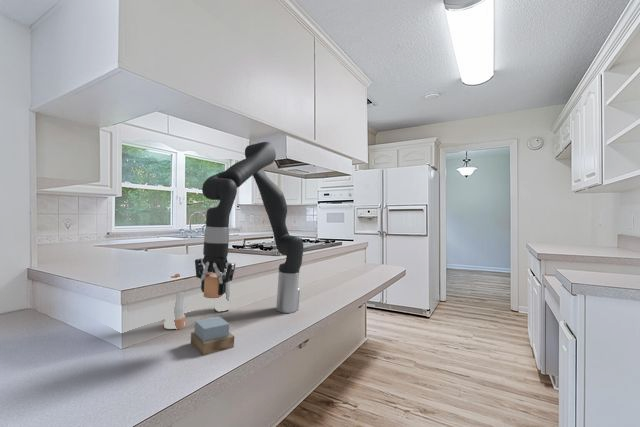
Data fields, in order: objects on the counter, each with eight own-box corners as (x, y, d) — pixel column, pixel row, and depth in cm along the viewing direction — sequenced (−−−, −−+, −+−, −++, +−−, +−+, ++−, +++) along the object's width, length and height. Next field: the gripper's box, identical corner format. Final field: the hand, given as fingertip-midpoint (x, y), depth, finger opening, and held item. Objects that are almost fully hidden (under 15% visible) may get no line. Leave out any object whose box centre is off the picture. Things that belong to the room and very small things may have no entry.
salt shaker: (174, 321, 120) (177, 270, 119) (189, 324, 117) (192, 273, 117) (158, 327, 113) (161, 274, 113) (174, 331, 111) (177, 277, 110)
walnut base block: (219, 337, 109) (220, 326, 109) (233, 348, 102) (234, 336, 102) (190, 344, 102) (191, 332, 102) (203, 356, 95) (203, 343, 95)
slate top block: (218, 328, 107) (219, 316, 107) (228, 336, 101) (229, 323, 101) (194, 333, 102) (195, 320, 102) (203, 342, 96) (204, 329, 96)
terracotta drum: (217, 292, 105) (218, 274, 105) (224, 296, 101) (226, 278, 101) (200, 294, 101) (201, 276, 101) (207, 299, 97) (209, 279, 97)
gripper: (189, 239, 100) (186, 292, 100) (229, 244, 95) (225, 299, 96) (205, 237, 107) (202, 287, 107) (242, 242, 102) (239, 293, 103)
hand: (213, 293), depth 101 cm, fingers closed on terracotta drum, 5 cm apart
